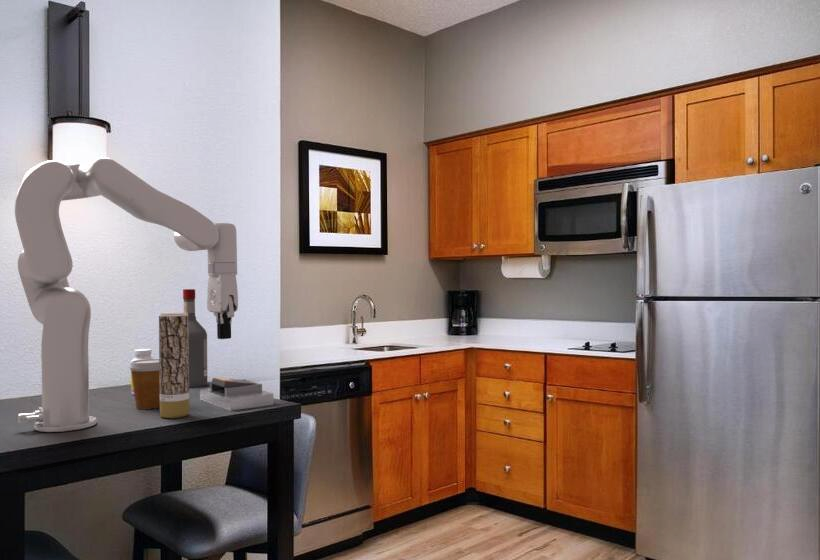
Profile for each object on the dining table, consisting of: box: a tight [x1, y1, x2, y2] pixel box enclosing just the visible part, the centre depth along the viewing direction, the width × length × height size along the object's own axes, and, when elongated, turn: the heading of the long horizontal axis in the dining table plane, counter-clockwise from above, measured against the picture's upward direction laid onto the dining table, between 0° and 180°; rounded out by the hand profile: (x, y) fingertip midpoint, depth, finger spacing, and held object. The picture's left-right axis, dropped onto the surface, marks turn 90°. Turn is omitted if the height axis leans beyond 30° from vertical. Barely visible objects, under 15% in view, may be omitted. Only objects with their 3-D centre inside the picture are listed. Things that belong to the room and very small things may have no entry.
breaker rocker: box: [211, 377, 259, 387], centre depth 180 cm, size 10×8×2 cm
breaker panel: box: [199, 379, 274, 412], centre depth 180 cm, size 12×20×5 cm, turn 39°
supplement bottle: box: [130, 348, 154, 396], centre depth 194 cm, size 7×7×13 cm
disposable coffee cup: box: [129, 358, 160, 410], centre depth 174 cm, size 10×10×12 cm
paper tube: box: [158, 312, 190, 419], centre depth 163 cm, size 7×7×25 cm
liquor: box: [182, 288, 208, 389], centre depth 209 cm, size 9×9×30 cm
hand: (224, 338), depth 178 cm, fingers closed
